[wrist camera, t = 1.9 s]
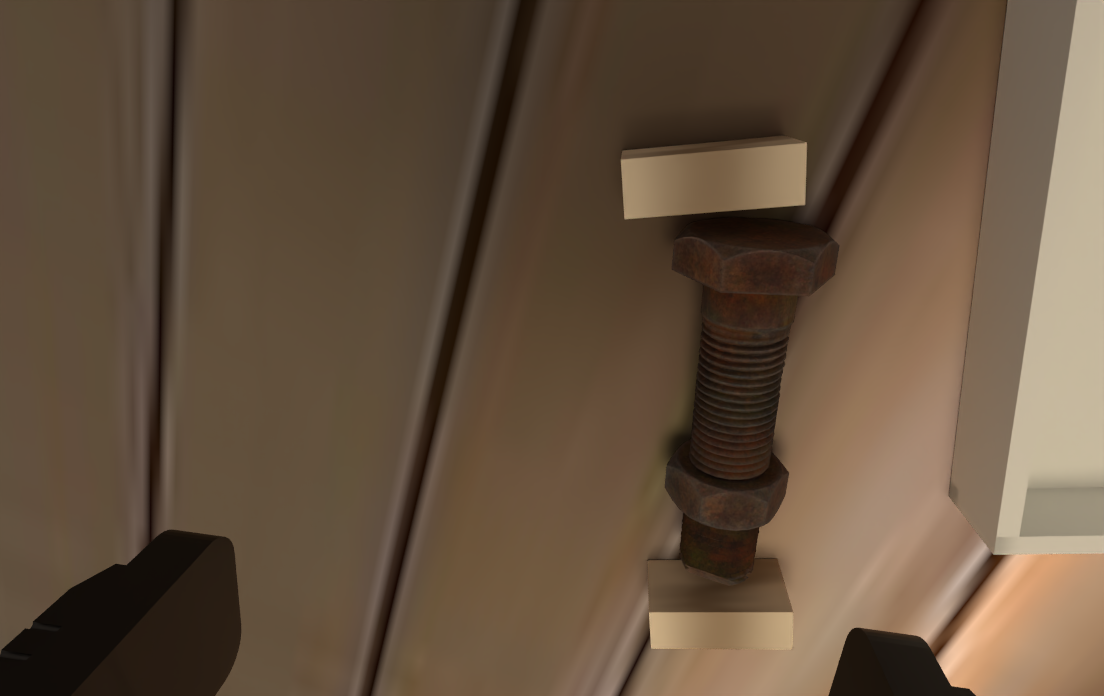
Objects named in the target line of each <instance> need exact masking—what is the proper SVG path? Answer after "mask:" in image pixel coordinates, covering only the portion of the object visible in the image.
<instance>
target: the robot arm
mask: <svg viewBox="0 0 1104 696" xmlns="http://www.w3.org/2000/svg"><path fill="white" fill-rule="evenodd" d="M240 639H241V618H240V607H239V596H238V585H237V575H236V564H235V553H234V547H233V544H232V542H231V541H230V540H229V539H228V538H226V537H222V536H214V535H207V534H200V533H193V532H186V531H179V530H167V531H164V532H163V533H161V534H160V535H158V536H157V537H156V538H155V539H154V540H153V541H152V542H151V543H150V544H149V545H147V546H146V547H145V548H144V549H143V550H142V551H141V552H140V553H139V554H138V555H137V556H136V557H135V558H134V559H133V560H132V561H131V562H129V563H128V564H127V565H120V564H115V565H113V566H111V567H109V568H107V569H105V570H104V571H102V572H100V573H98V574H96V575H94V576H93V577H91V578H89V579H87V580H85V581H83V582H82V583H80V584H78V585H76V586H74V587H72V588H71V589H69V590H68V591H67V592H66V593H65V594H64V595H62V596H61V597H60V598H59V599H58V600H57V601H56V602H55V603H53V604H52V605H51V606H50V607H49V608H48V609H47V610H46V611H44V612H43V613H42V614H41V615H40V616H39V617H38V618H37V619H35V620H34V621H33V625H32V627H31V628H30V629H26V628H25V629H24V630H23V631H22V632H21V633H20V634H19V635H18V636H16V637H15V638H14V639H13V640H12V641H11V642H10V643H9V644H7V645H6V646H5V647H4V648H3V649H2V650H1V654H0V696H215V695H216V693H217V692H218V691H219V689H220V688H221V686H222V685H223V683H224V682H225V680H226V678H227V677H228V675H229V673H230V671H231V669H232V667H233V664H234V662H235V659H236V656H237V653H238V649H239V645H240ZM829 696H976V695H975V694H974V693H973V692H972V691H971V690H970V689H966V688H959V687H952V686H951V685H950V683H949V682H948V680H947V678H946V676H945V674H944V673H943V671H942V669H941V667H940V665H939V663H938V662H937V660H936V658H935V656H934V654H933V653H932V651H931V649H930V647H929V646H928V644H927V643H926V642H925V641H924V640H923V639H922V638H921V637H918V636H914V635H907V634H900V633H893V632H886V631H878V630H871V629H864V628H854V629H852V630H851V631H850V632H849V634H848V636H847V638H846V641H845V644H844V647H843V651H842V654H841V657H840V660H839V664H838V667H837V670H836V673H835V677H834V680H833V683H832V686H831V689H830V693H829Z"/></svg>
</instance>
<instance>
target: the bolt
mask: <svg viewBox="0 0 1104 696" xmlns="http://www.w3.org/2000/svg"><path fill="white" fill-rule="evenodd" d="M838 251H839V245H838V243H837V242H835V241H834V240H833V239H832V238H831V237H830V236H829V235H828V234H827V233H825V232H824V231H822V230H821V229H819V228H816V227H814V226H810V225H805V224H799V223H793V222H788V221H782V220H774V219H765V218H746V217H733V218H715V219H708V220H701V221H695V222H692V223H690V224H689V225H687V226H686V227H685V228H684V229H683V230H682V231H681V232H680V234H679V235H678V236H677V237H676V239H675V240H674V250H673V261H672V270H674V271H676V272H678V273H680V274H682V275H684V276H687V277H689V278H691V279H693V280H695V281H697V282H699V283H701V284H703V285H704V286H703V296H702V307H701V313H702V315H703V323H702V330H703V331H702V333H701V338H702V339H701V341H700V344H701V348H700V350H699V352H700V355H699V363H698V372H697V381H696V385H697V386H696V389H695V391H696V394H695V401H694V407H695V408H694V411H693V414H694V415H693V424H692V437H691V440H689V441H686V442H685V443H683V444H682V445H681V446H680V447H679V448H678V449H677V451H676V452H675V453H674V454H673V456H672V457H671V459H670V461H669V462H668V464H667V467H666V479H665V488H666V490H667V492H668V493H669V495H670V497H671V498H672V500H673V501H674V503H675V504H676V505H677V507H678V508H679V509H680V510H681V511H682V512H684V513H683V520H682V522H683V524H682V532H681V543H680V550H681V553H679V554H680V559H681V560H682V563H683V565H684V567H685V569H686V570H687V571H688V572H690V573H692V574H695V575H698V576H701V577H704V578H706V579H709V580H713V581H716V582H719V583H722V584H725V585H728V586H730V585H735V584H739V583H741V582H743V581H745V580H746V579H748V578H749V577H747V576H746V575H747V574H751V573H752V571H753V566H754V557H755V552H756V544H757V538H758V533H759V527H761V526H764V525H765V524H767V523H769V522H770V521H771V519H772V518H773V517H774V516H775V514H776V512H777V511H778V509H779V507H780V505H781V503H782V501H783V499H784V497H785V494H786V488H787V482H788V476H789V472H788V471H787V469H786V468H785V467H784V466H783V464H782V463H781V462H780V460H779V459H778V458H777V457H776V456H775V455H774V454H773V453H772V452H771V451H772V444H773V436H774V429H775V422H776V415H777V409H778V402H779V397H780V393H779V391H780V388H781V387H780V383H781V376H782V373H783V367H784V365H785V362H784V360H785V358H786V353H785V352H786V351H787V343H788V340H789V337H788V335H789V333H790V327H791V324H792V323H793V322H794V317H795V311H796V305H797V299H798V296H810V295H811V294H812V293H814V292H815V291H816V290H817V289H819V288H820V287H821V286H822V285H823V284H824V283H826V282H827V281H828V280H829V279H830V278H832V277H833V276H834V275H835V269H836V263H837V257H838Z"/></svg>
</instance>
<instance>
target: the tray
mask: <svg viewBox="0 0 1104 696" xmlns="http://www.w3.org/2000/svg"><path fill="white" fill-rule="evenodd" d="M949 497H950V499H951V500H952V501H953V502H954V504H955V505H956V506H957V508H958V509H959V510H960V512H961V513H962V514H963V515H964V517H965V518H966V519H967V521H968V522H969V523H970V525H971V526H972V527H973V528H974V530H975V531H976V532H977V534H978V535H979V536H980V538H981V539H982V540H983V541H984V543H985V544H986V545H987V547H988V548H989V549H990V551H991V552H992V553H993V554H994V555H1006V554H1094V553H1104V0H1008V2H1007V11H1006V19H1005V28H1004V36H1003V44H1002V53H1001V61H1000V70H999V78H998V87H997V95H996V103H995V112H994V120H993V129H992V137H991V145H990V154H989V162H988V171H987V179H986V187H985V196H984V204H983V213H982V221H981V229H980V238H979V246H978V255H977V263H976V272H975V280H974V288H973V297H972V305H971V314H970V322H969V330H968V339H967V347H966V356H965V364H964V372H963V381H962V389H961V398H960V406H959V414H958V423H957V431H956V440H955V448H954V457H953V465H952V473H951V482H950V490H949Z"/></svg>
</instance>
